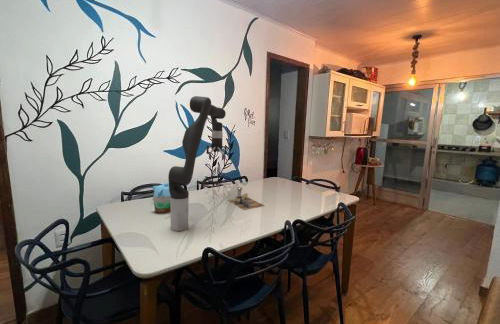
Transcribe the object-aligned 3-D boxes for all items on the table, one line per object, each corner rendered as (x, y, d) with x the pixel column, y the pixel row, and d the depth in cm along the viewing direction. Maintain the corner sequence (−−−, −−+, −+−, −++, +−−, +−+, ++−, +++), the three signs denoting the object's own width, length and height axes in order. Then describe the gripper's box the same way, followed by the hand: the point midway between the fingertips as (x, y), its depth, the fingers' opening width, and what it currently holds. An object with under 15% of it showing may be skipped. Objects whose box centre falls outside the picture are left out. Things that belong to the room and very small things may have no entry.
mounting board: (227, 202, 177) (227, 200, 177) (247, 198, 188) (247, 197, 187) (243, 211, 160) (244, 210, 159) (265, 207, 170) (265, 205, 170)
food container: (151, 214, 147) (151, 198, 146) (152, 211, 153) (152, 195, 151) (172, 213, 150) (172, 198, 149) (173, 210, 156) (173, 195, 155)
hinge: (230, 200, 177) (230, 195, 176) (246, 198, 185) (246, 193, 184) (244, 208, 162) (245, 202, 161) (261, 205, 170) (261, 200, 169)
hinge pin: (242, 203, 173) (243, 188, 171) (238, 203, 171) (239, 189, 169) (239, 201, 176) (240, 187, 174) (235, 202, 174) (235, 187, 172)
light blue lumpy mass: (180, 204, 167) (180, 185, 165) (155, 207, 160) (155, 187, 158) (175, 196, 183) (175, 179, 181) (152, 199, 176) (151, 180, 174)
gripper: (227, 137, 176) (226, 159, 179) (207, 136, 175) (207, 158, 178) (227, 138, 169) (226, 161, 172) (206, 137, 168) (205, 160, 171)
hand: (216, 159), depth 175 cm, fingers open, 8 cm apart
